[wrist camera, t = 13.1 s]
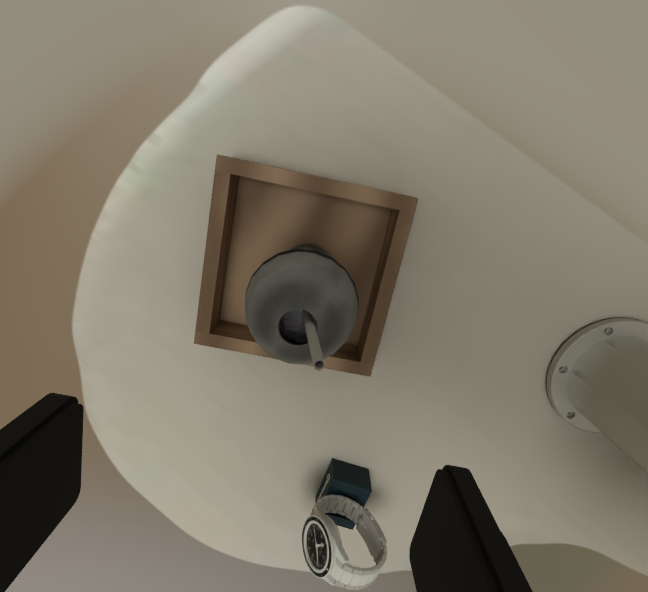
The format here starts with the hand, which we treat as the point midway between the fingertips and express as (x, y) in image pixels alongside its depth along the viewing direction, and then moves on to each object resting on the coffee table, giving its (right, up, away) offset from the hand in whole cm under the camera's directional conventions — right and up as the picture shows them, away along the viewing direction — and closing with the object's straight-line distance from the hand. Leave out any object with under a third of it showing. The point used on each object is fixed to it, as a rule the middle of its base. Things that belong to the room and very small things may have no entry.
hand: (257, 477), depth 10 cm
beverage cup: (0, +7, +25) cm, 27 cm away
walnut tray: (0, +8, +26) cm, 27 cm away
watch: (+4, -16, +34) cm, 38 cm away
